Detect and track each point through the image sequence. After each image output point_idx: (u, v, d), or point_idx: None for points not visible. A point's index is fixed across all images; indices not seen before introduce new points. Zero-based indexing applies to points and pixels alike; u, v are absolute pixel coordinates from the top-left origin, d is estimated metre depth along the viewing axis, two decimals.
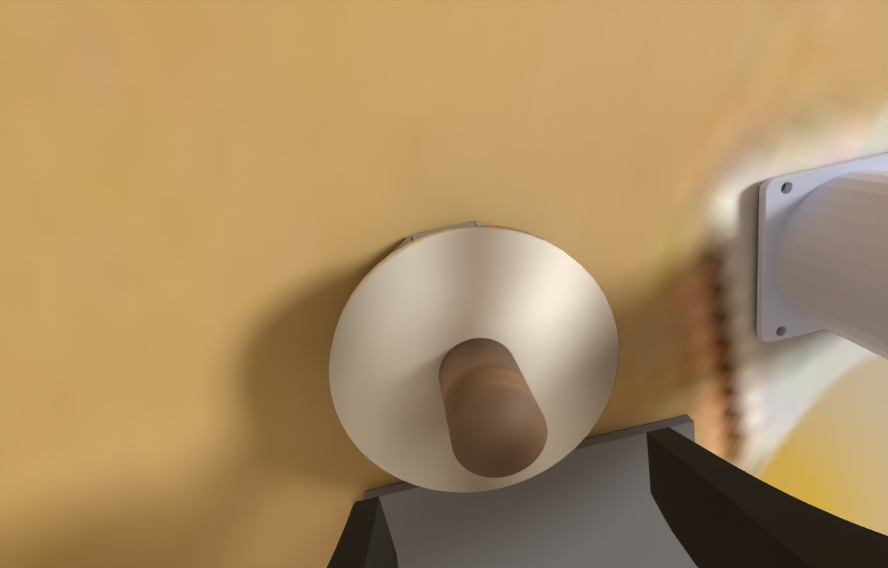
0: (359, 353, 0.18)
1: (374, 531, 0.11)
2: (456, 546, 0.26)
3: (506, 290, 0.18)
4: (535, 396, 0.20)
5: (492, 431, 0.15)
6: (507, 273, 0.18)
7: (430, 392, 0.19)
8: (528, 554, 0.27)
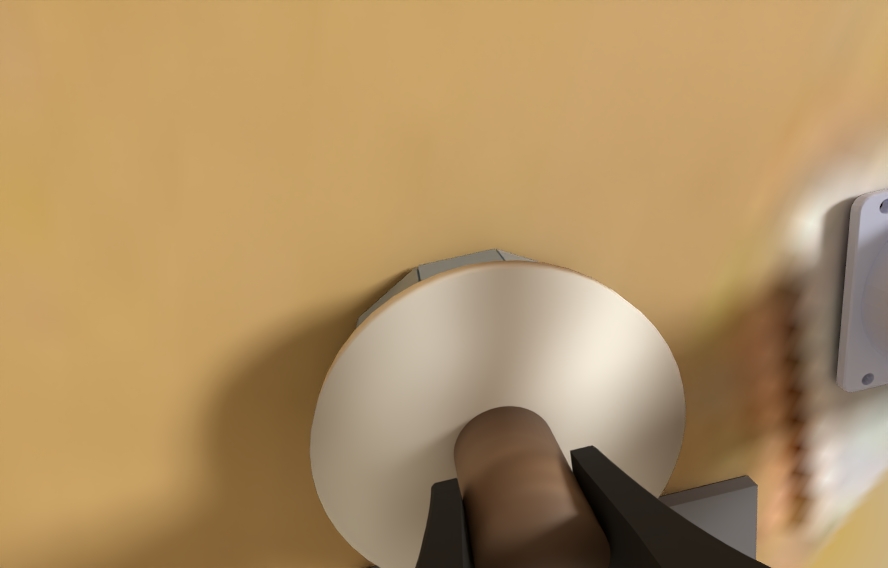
0: (350, 428, 0.14)
1: (461, 510, 0.11)
2: None
3: (543, 346, 0.14)
4: None
5: (534, 559, 0.11)
6: (545, 324, 0.13)
7: (442, 474, 0.15)
8: None
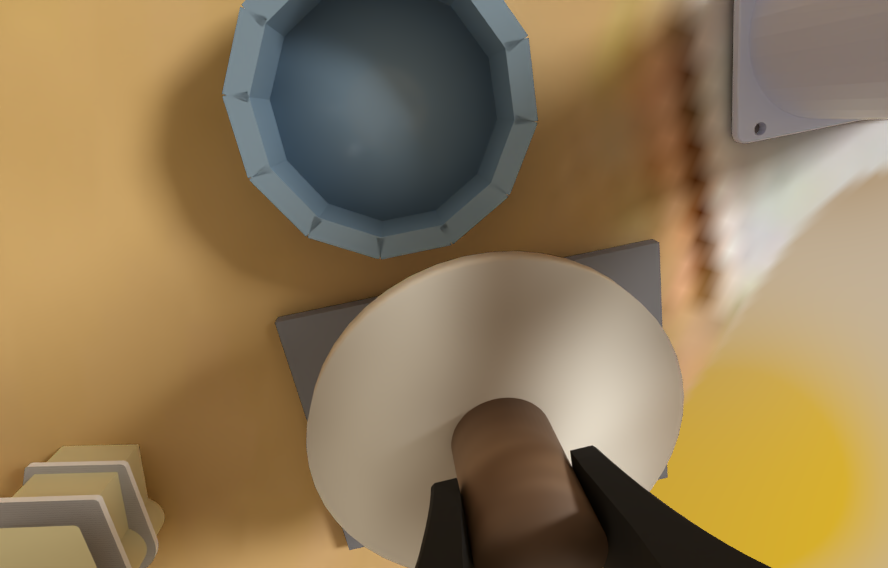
0: (346, 421, 0.14)
1: (461, 510, 0.11)
2: None
3: (541, 338, 0.13)
4: None
5: (531, 555, 0.11)
6: (543, 316, 0.13)
7: (440, 464, 0.15)
8: None
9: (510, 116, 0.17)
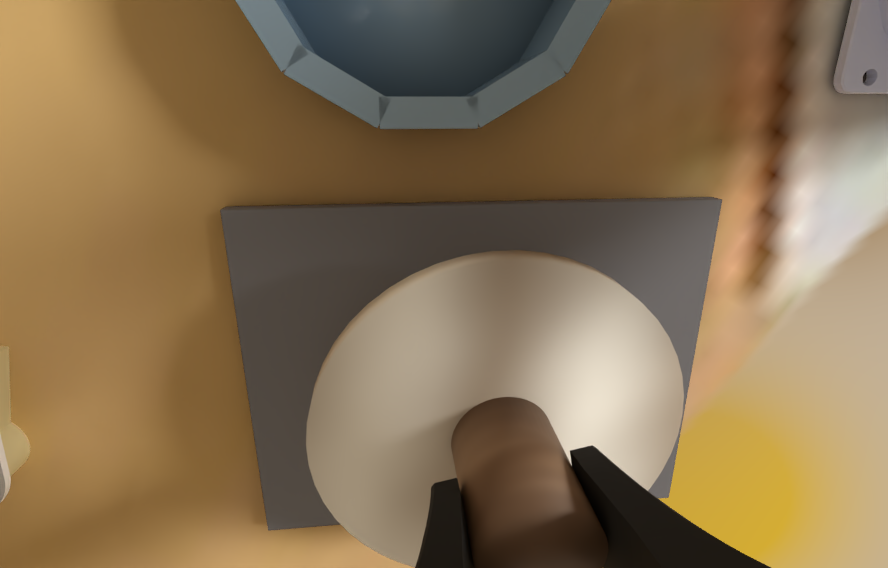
0: (346, 420, 0.14)
1: (461, 510, 0.11)
2: None
3: (542, 337, 0.13)
4: None
5: (532, 554, 0.11)
6: (545, 316, 0.13)
7: (440, 463, 0.15)
8: None
9: None
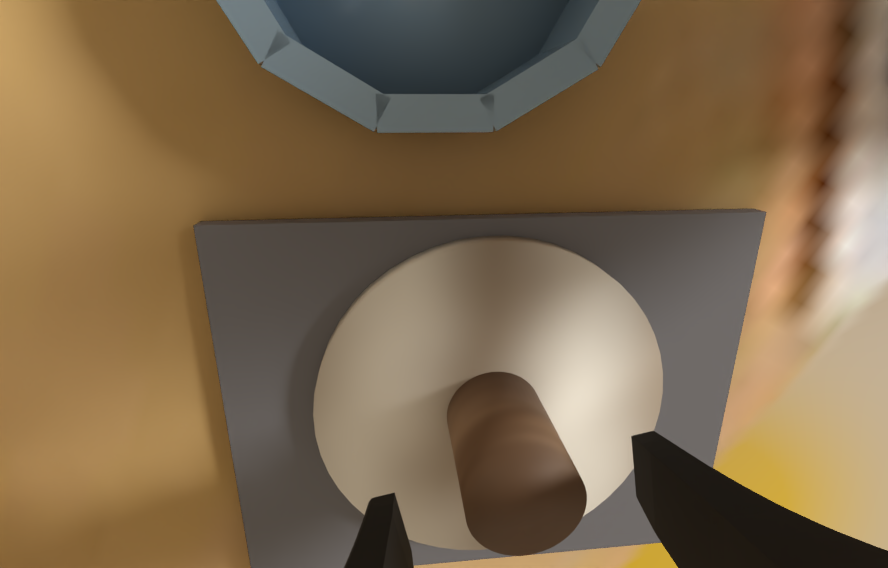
0: (350, 392, 0.15)
1: (392, 527, 0.11)
2: None
3: (529, 314, 0.15)
4: (562, 439, 0.16)
5: (517, 501, 0.12)
6: (530, 294, 0.15)
7: (437, 436, 0.16)
8: None
9: None
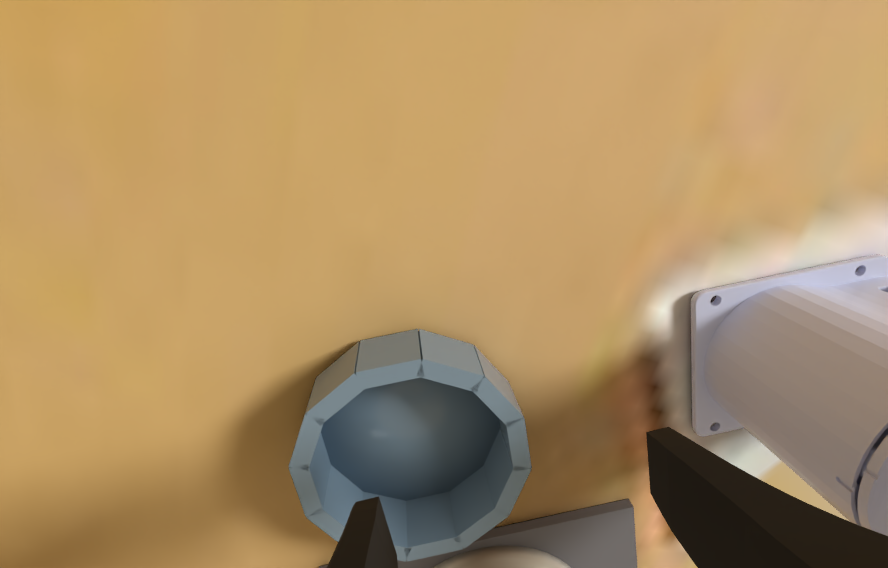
0: None
1: (374, 531, 0.11)
2: None
3: None
4: None
5: None
6: None
7: None
8: None
9: (510, 457, 0.22)
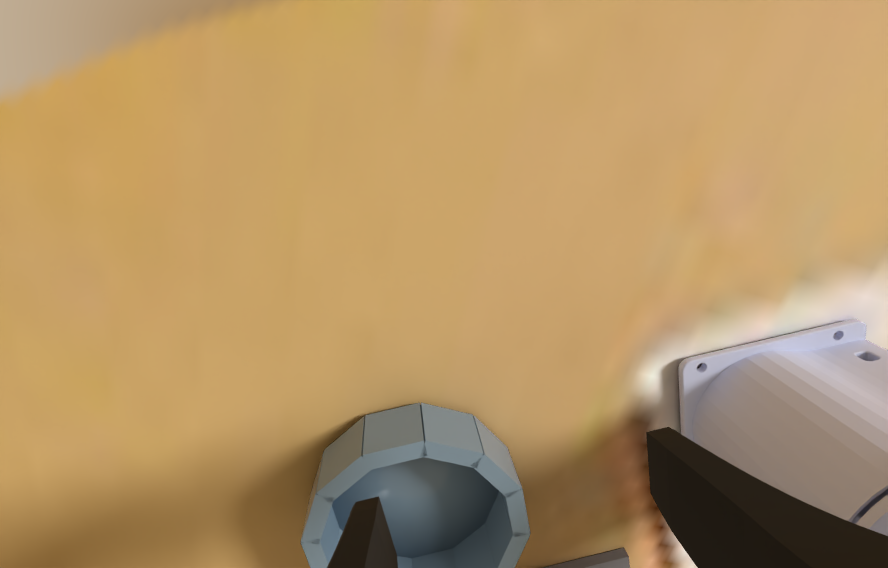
0: None
1: (374, 531, 0.11)
2: None
3: None
4: None
5: None
6: None
7: None
8: None
9: (510, 523, 0.23)
